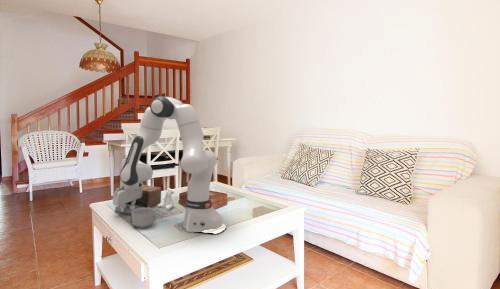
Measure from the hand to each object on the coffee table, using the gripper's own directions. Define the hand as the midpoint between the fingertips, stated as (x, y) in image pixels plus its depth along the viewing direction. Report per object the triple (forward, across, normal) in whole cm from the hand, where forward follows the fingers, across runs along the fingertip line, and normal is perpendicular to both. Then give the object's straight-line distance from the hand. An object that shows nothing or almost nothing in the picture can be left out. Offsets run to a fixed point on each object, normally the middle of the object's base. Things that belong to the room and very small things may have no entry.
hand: (127, 209), depth 162 cm
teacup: (+2, -12, -20) cm, 23 cm away
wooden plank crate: (+2, +17, +3) cm, 17 cm away
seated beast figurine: (+2, +18, -14) cm, 23 cm away
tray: (+2, 0, 0) cm, 2 cm away
